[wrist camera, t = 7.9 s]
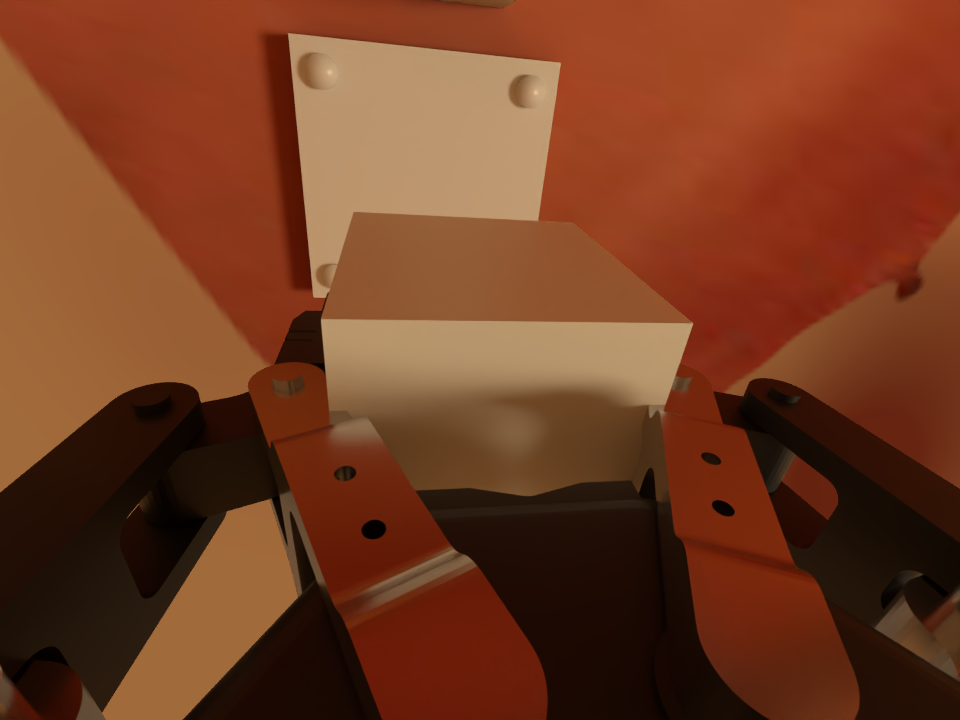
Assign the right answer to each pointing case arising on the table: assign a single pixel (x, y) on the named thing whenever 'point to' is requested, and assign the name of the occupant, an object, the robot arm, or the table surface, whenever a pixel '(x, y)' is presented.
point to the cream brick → (496, 350)
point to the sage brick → (485, 2)
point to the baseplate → (415, 136)
